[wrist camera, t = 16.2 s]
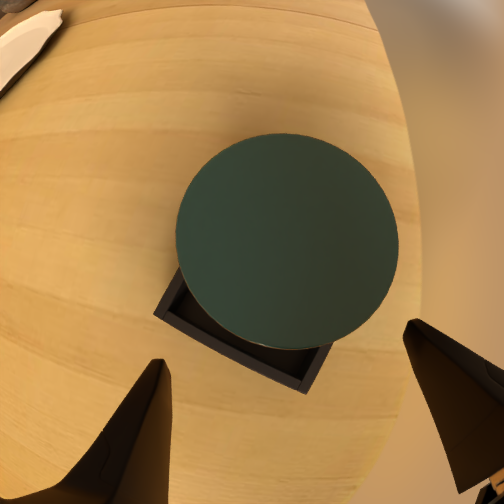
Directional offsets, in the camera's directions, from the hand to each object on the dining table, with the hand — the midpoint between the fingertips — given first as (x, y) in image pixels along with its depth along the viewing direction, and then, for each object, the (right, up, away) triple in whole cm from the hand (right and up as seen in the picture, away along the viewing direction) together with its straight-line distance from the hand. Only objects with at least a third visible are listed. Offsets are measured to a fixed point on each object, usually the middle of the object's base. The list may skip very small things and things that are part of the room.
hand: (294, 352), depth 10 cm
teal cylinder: (-1, +1, +7) cm, 8 cm away
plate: (-43, +32, +15) cm, 56 cm away
